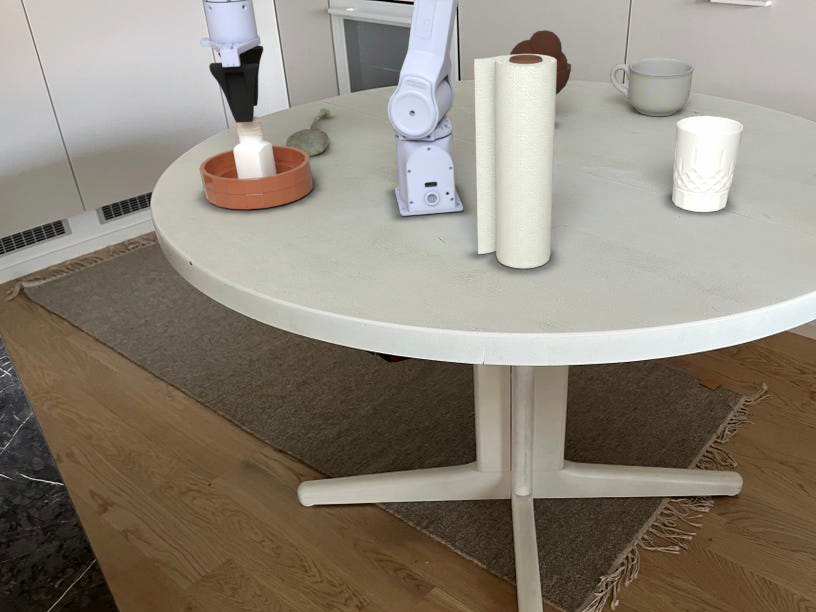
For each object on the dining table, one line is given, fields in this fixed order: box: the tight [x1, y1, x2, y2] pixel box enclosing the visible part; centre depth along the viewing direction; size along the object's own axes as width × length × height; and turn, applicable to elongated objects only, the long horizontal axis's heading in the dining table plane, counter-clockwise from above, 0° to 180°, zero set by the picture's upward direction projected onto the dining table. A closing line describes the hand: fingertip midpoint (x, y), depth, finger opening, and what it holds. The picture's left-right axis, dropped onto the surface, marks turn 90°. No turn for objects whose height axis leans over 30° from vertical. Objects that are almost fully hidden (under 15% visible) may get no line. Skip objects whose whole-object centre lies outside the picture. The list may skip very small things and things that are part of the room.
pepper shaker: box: [232, 116, 277, 179], centre depth 105 cm, size 4×4×10 cm
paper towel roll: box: [473, 54, 557, 269], centre depth 83 cm, size 7×6×21 cm
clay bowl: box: [198, 145, 314, 210], centre depth 107 cm, size 14×14×4 cm
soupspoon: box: [285, 107, 331, 157], centre depth 129 cm, size 22×3×7 cm
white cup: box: [671, 115, 744, 213], centre depth 99 cm, size 8×8×10 cm
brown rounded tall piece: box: [509, 29, 572, 95], centre depth 128 cm, size 11×11×15 cm
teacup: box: [609, 57, 695, 117], centre depth 136 cm, size 14×11×8 cm
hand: (247, 113), depth 102 cm, fingers open, 7 cm apart
